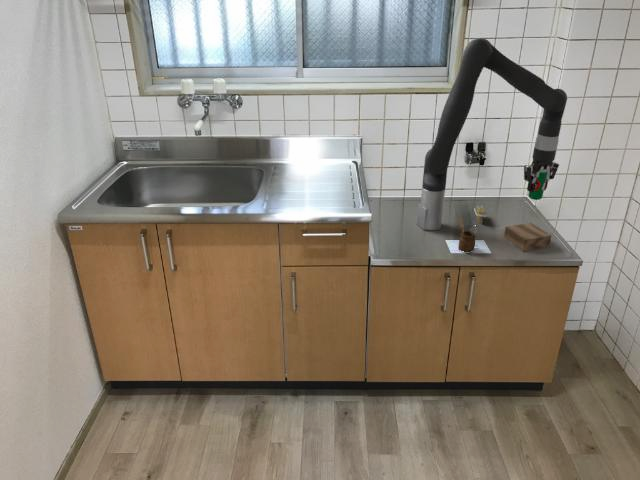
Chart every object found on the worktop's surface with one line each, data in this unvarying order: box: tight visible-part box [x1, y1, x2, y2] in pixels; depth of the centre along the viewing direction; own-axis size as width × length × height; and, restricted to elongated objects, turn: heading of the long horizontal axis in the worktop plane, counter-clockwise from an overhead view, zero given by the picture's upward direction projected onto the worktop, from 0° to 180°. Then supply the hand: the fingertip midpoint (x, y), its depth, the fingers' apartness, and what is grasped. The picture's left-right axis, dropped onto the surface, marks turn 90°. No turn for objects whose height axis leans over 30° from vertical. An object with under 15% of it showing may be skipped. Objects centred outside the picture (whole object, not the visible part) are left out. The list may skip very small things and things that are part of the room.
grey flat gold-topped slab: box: [473, 204, 487, 225], centre depth 217 cm, size 12×18×7 cm, turn 173°
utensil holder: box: [458, 218, 478, 253], centre depth 192 cm, size 6×6×12 cm
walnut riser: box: [503, 222, 552, 252], centre depth 199 cm, size 12×12×5 cm
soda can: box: [527, 169, 548, 201], centre depth 188 cm, size 5×5×12 cm
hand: (536, 190), depth 190 cm, fingers closed on soda can, 5 cm apart
